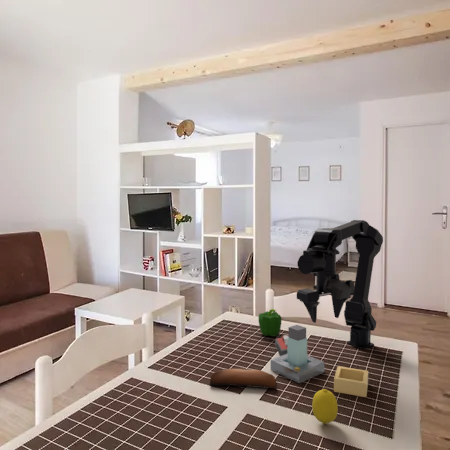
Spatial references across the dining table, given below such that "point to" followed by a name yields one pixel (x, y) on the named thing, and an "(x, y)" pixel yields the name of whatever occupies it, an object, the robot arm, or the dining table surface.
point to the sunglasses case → (243, 378)
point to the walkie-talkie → (282, 345)
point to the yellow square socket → (351, 381)
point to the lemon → (324, 406)
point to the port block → (297, 368)
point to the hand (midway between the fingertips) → (325, 319)
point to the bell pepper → (270, 323)
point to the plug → (297, 346)
